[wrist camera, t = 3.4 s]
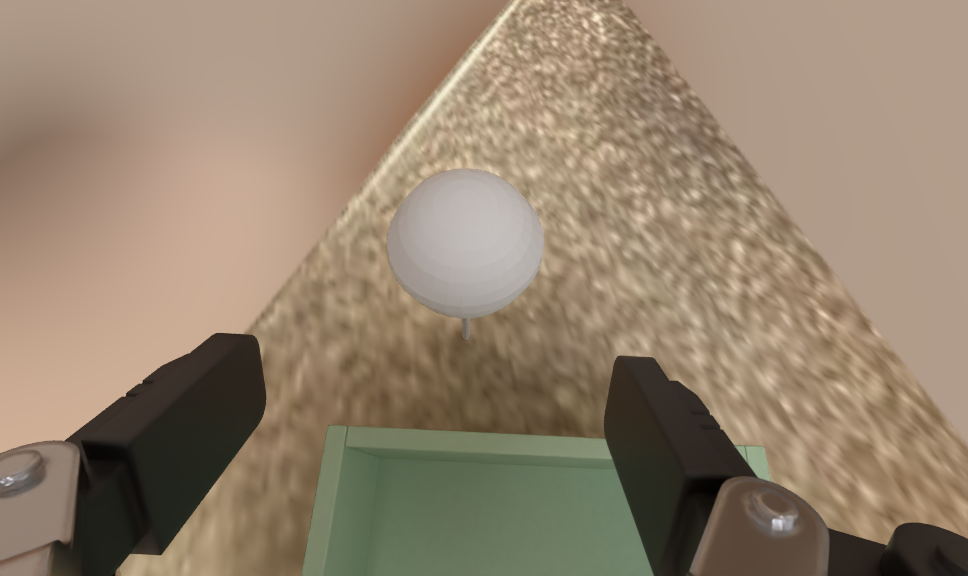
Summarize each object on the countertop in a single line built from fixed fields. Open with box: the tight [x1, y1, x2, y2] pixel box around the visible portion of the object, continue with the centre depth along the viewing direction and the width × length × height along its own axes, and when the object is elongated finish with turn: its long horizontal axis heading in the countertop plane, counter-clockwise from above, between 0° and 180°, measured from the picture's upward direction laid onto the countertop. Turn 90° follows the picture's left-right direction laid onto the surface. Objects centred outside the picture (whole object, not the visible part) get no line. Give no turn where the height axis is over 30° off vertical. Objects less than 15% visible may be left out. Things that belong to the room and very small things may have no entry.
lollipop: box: [387, 169, 544, 340], centre depth 22 cm, size 6×6×15 cm
